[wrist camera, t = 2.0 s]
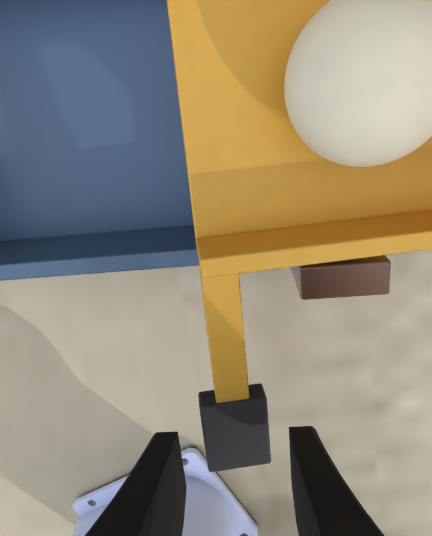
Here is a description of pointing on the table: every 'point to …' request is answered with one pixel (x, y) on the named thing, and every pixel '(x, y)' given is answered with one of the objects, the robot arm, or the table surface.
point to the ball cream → (363, 80)
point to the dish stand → (343, 278)
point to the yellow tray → (268, 193)
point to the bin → (90, 140)
